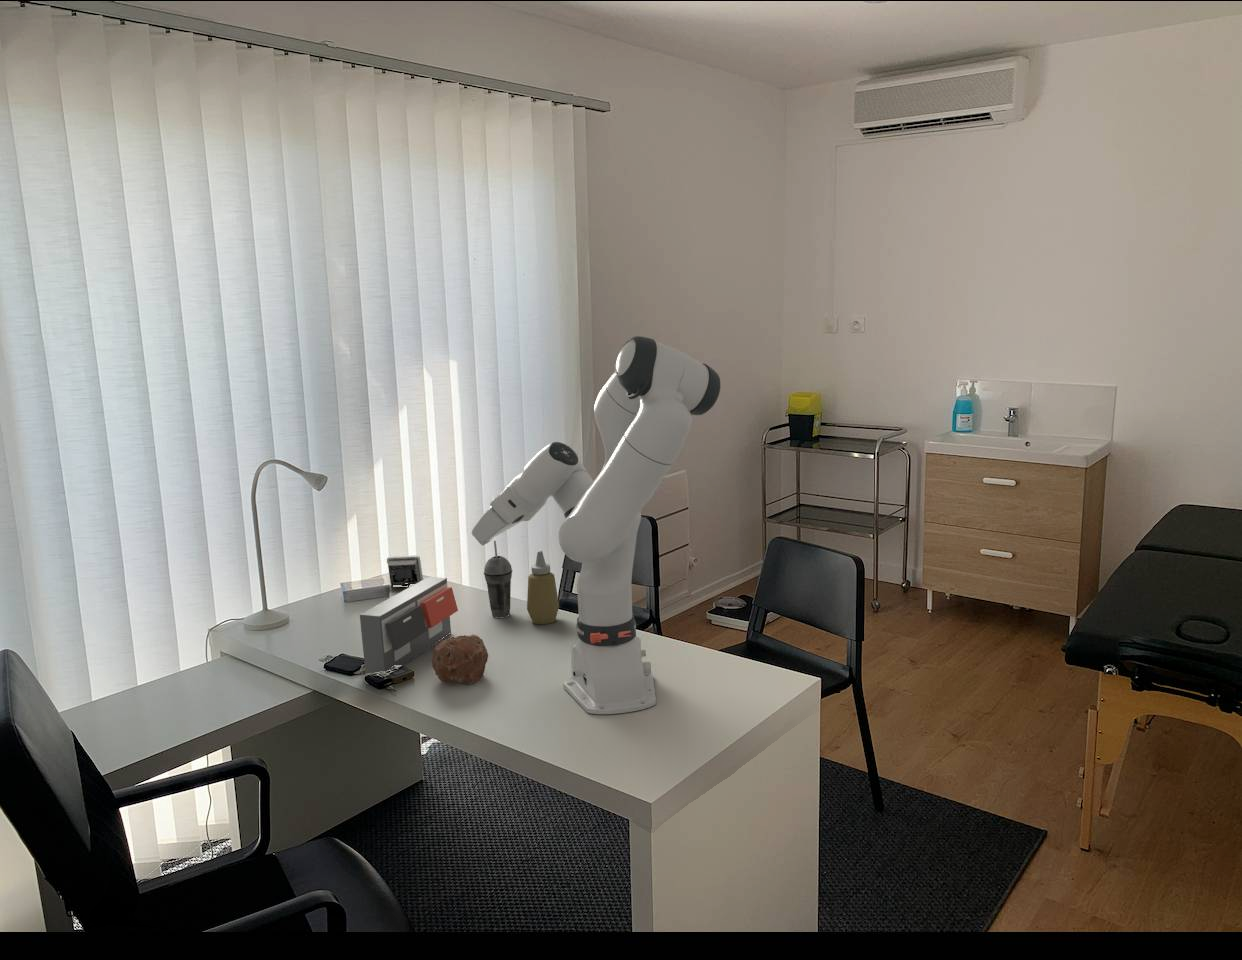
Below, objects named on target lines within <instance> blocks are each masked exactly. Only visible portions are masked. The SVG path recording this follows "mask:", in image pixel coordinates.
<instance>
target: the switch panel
mask: <svg viewBox="0 0 1242 960" xmlns="http://www.w3.org/2000/svg"><path fill="white" fill-rule="evenodd" d="M446 588H448V578H447V577H436V576H435V577H434V576H428V577H425V578H423V580H422V581H420V582H418V583H416V584H415V585H413V586H411V587H406V589H403V590H402V591H400V592H398V593H397V594H394V595H393V596H391V597H389V598H388V599H387V598H386V600H384V601H382V602H380V603H378V604H376V605H375V606H373V607H371V608H369V609H367V610H366V611H364V612H361V613H360V614H359V620H360V621H359V622H360V630H361V631H360V632H361V643H362V650H363V651H362V652H363V661H364V670H365V671H364V672H365V673H371V672H379V671H387V670H388V669H390V668H391V667H392V666H394V665H402V667H404V666H406V665H407V664H408V663H410V662H411V661H413V660H414V659H416V658H417V657H419V656H420V655H422V654H423V653H424V652H426V651H428V650H429V649H430V648H432V647H433V646H434V644H435V643H436V642H438V641H439V640H441V639H442V638H443V637H445V636H446V635H448V634H449V633H451V634H452V627H451V626H452V625H451V616H449V617H448V618H446V619H444V620H443V621H441V622H440V623H438V624H437V625H435V626H434V627H432V628H427V624H426V621H425V617H424V614H423V617H424V621H425V624H426V628H427V631H426V632H424V633H423V634H421V635H420V636H418V637H417V638H415V639H414V640H412V641H410V642H409V643H407V644H406V645H404V646H403V647H401V648H400V649H398V650H393V649H392V645H391V642H390V638H389V635H388V631H387V627H386V623H388V622H390V621H392V620H393V619H395V618H397V617H398V616H400V615H402V614H403V613H405V612H407V611H409V610H410V609H412V608H414V607H415V606H421V603H422V602H424V601H425V600H427V599H429V598H431V597H432V596H434V595H436V594H437V593H439V592H441V591H442V590H444V589H446ZM421 610H422V607H421ZM422 613H423V610H422ZM449 635H450V634H449ZM449 635H448V636H449ZM446 637H447V636H446ZM446 637H445V638H446ZM443 639H444V638H443ZM443 639H442V640H443ZM442 640H441V641H442ZM439 642H440V641H439ZM439 642H438V643H439ZM436 644H437V643H436ZM436 644H435V645H436ZM432 645H433V646H432ZM431 646H432V647H431ZM429 647H430V648H429ZM428 648H429V649H428ZM425 650H426V651H425ZM365 673H364V674H365Z"/></svg>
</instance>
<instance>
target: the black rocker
mask: <svg viewBox="0 0 1242 960" xmlns="http://www.w3.org/2000/svg"><path fill="white" fill-rule="evenodd" d="M386 627H387V631H388V635H389V638H390V642H391V645H392V649H393V650H398V649H400V648H401V647H403V646H404V645H406V644H407V643H409V642H410V641H412V640H414V639H415V638H417V637H418V636H420V635H421V634H423V633H424V632H426V631H427V628H426V624H425V621H424V617H423V613H422V610H421V606H415V607H414V608H412V609H410V610H409V611H407V612H405V613H403V614H402V615H400V616H398V617H397V618H395V619H393V620H392V621H390V622H388V623H386Z"/></svg>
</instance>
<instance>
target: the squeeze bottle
mask: <svg viewBox="0 0 1242 960" xmlns="http://www.w3.org/2000/svg"><path fill="white" fill-rule="evenodd" d="M530 568H531V573H530V574H529V575H528V578H527V598H526V599H527V600H526V602H527V603H526V610H527V613H528V615H529V617H530V620H531V622H532V623H533V624H535V625H548V624H552V623H554V622H556V619H557V616H558V612H559V608H560V602H559V596H558V595H559V594H558V590H557V583H556V578H555V574H554V573H552V572H551V564H549V563H547V562H546V560H545V557H544V553H543V551H542V550H538V551H537V553H536V559H535V564H533V565H531V567H530Z"/></svg>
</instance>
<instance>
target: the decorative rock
mask: <svg viewBox="0 0 1242 960" xmlns="http://www.w3.org/2000/svg"><path fill="white" fill-rule="evenodd" d="M488 659H489V652H488V650H487V648H486V646H485V644H484V640H483V639H482V638H481V637H480V636H478V635H475V634H471V635H465V634H464V635H458V636H456V637H454V636H451V637H450V638H447V639H446V638H445V639H442V640H441V641H439V643H438V644H436V646H435V647H434V648H433V650H432V656H431V663H430V664H431V667H432V668H433V670H434V672H435V673H434V675H435V676H437V678H438V680H439V681H440V682H442V683H448V682H454V683H460V684H464V685H466V684H467V685H471V684H473V683H474V682H478V681H479V680H480V679H481V678H483V677H484V674H485V671H486V664H487V663H488Z"/></svg>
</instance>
